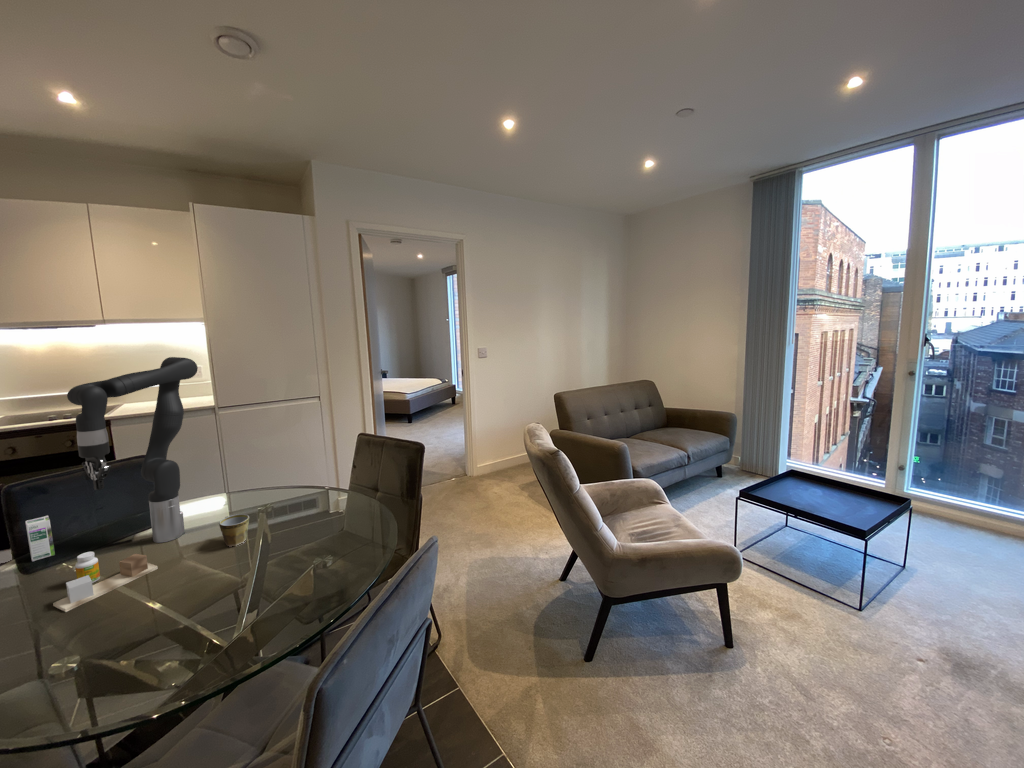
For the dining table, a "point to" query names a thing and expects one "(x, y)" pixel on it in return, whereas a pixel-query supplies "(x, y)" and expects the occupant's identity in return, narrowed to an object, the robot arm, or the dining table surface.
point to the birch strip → (102, 588)
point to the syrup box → (40, 538)
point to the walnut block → (133, 565)
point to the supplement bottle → (87, 566)
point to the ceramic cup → (234, 529)
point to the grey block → (79, 589)
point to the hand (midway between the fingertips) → (99, 489)
